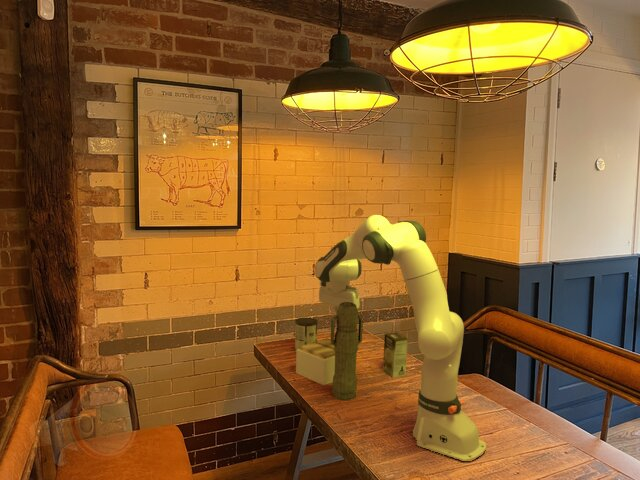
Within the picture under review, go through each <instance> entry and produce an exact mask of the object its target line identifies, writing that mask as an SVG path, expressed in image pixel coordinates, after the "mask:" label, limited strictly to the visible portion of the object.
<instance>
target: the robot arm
mask: <svg viewBox="0 0 640 480" xmlns="http://www.w3.org/2000/svg"><path fill="white" fill-rule="evenodd" d="M426 241H427V233H426V230H425V228H424V226H423V225H422V224H421V223H420V222H418V221H417V220H416V221H415V220H399V221H397V222H396V223H393V224H391V223H390V222H389V220H388V219H387V218H386V217H385V216H382V215H379V214H372V215H370V216H368V218H366V219H365V220H363V222H362V223H360V225H359V226H358V227H357V229H356V230H355V231H354V232H353V233H352V234H351V235H349V236H348V237H346V238H345V239H343V240H341V241H339V242H338V243H336V244H335V245H334V246H332V247H331V248H330V250H329V251H328V252H327V253H326V254H325V255H324V256H321V257H319V259H318V260H317V261H316V263H315V264H314V265H315V266H314V274H315V277H316V278H317V280H319V286H320V287H319V288H318V290H319V291H318V300H319V302H320V303H324V304H326V305H331V306H332V309H333V312H334V316H335V315H337V310H338V307H339V305H340V304H341V303H343V302H351V303H354V304H356V307H357V310H359V309H360V307H361V305H360V302H361V301H360V293H359V292H360V291H359V290H358V288H356V287H354V286H350V285H351V282H352V281H356V280H358V279H359V278H360V277H361V274H362V271H363V270H362V267H363V266H362V262H361V261H360V260H365V259H367V260H368V261H369V262H371V263H373V264H384V265H390V264H391V262H395V263H396V264H398V266H399V268H400V270H401V275H402V278H403V281H404V284H405V287H406V290H407V293H408V295H409V299H410V301H411V306H412V308H413V310H412V311H413V315H414V321H415V322H414V323H415V327H416V331H417V332H416V333H417V346H418V349H419V350H420V352H421V354H422V355H423V356H424V357H423V360H422V365H421V374H420V390H419V391H418V397H417V404H418V411H417V415H416V416H417V417H416V421H415V423H414V427H413V429H412V432H413V433H412V437H413V438H414V437H415V438H416V439H415V438H414V439H415V441H416V440H417V441H416V442H417V443H416V446H417V445H418V446H421V447H424V448H426V449H430V450H432V451H435V452H438V453H441V454H444V455H448V456H451V457H455V458H458V459H460V460H463V461H468V460H472V459H475V458H477V457H478V456H480V455H481V454H482V453H483V452H484V451H485V449H486V450H487V443H486V442H485V441H484V440H482V439H480V434H479V429H478V426H477V425H476V424H475V422H473V421H472V420H471V418H470V417H469V416H468V414H466V412H464V410H463V409H462V406H464V403H465V400H461V401H460V400H459V397H458V395H457V391H458V377H459V368H460V363H461V357H462V356H461V355H462V348H463V343H464V341H463V340H464V334H465V333H464V331H465V325H464V321H463V319H462V318H461V317H460V315H459V314H457V313H456V312H453V311H450V307H449V302H448V294H447V293H448V292H447V290H446V286H445V284H444V281H443V279H442V278H443V277H442V276H441V273H440V270H439V267H438V264H437V262H436V259H435V258H434V256H433V255H434V254H433V253H432V252H431V249H430V248H429V247H428V245H427V243H426ZM418 446H417V447H418ZM426 449H425V450H426ZM432 451H431V452H432ZM435 452H434V453H435ZM485 452H486V451H485ZM438 453H437V454H438ZM441 454H440V455H441ZM444 455H443V456H444ZM470 457H471V458H470Z"/></svg>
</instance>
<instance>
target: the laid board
mask: <svg viewBox="0 0 640 480" xmlns="http://www.w3.org/2000/svg"><path fill="white" fill-rule="evenodd" d="M300 350H302V351H305V352H308V353H310V354H313V355H315V356H318V357H320V358H323V359H327V358H330V357H333V356H335V350H334V349H332V348H329V347H326V346H324V345H321V344H318V343H315V342H313V343H310V344H306V345H303V346H300Z"/></svg>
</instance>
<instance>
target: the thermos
mask: <svg viewBox="0 0 640 480" xmlns="http://www.w3.org/2000/svg"><path fill="white" fill-rule="evenodd" d="M337 308H338V310H337V315H335V314H334V316H333V317H332V318H331V320H330V339H331V344H332V345H334V350H335V373H334V376H333V382H332V396H334V397H335V398H334V397H333V398H334V399H336V398H337V399H336V400H339V399H340V400H339V401H352V400H354V399H355V398H357V397H356V396H357V390H358V389H357V387H358V386H357V385H358V379H357V375H356V374H357V353H358V350H359V345H360V344H361V343H362V341H363V327H364V326H363V325H364V319H363V318H362V317H361V316H360V314H359V312H358V311H359V309H357V307H356V304H354V303H351V302H343V303H341V304H340V305H339V307H337ZM335 323H336V324H335ZM335 325H336V329H335ZM351 399H352V400H351Z"/></svg>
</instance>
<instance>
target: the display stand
mask: <svg viewBox="0 0 640 480" xmlns="http://www.w3.org/2000/svg"><path fill="white" fill-rule="evenodd" d="M295 352H296V355H295V374H297V375H300V376H302V377H305V378H306V379H309V380H310V381H313V382H315V383H318V384H319V385H322V386H326V385H328V384H331V383H333V376H334V373H335V356H333V357H330V358H327V359H323V358H320V357H318V356H315V355H313V354H310V353H308V352H305V351H302V350H300V349H297V350H296V351H295Z"/></svg>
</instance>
